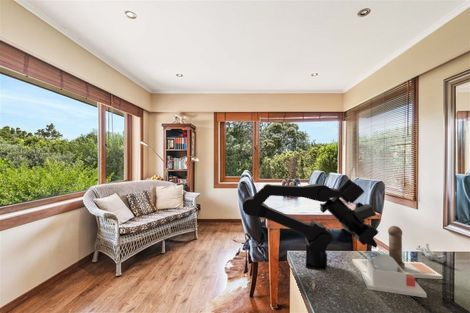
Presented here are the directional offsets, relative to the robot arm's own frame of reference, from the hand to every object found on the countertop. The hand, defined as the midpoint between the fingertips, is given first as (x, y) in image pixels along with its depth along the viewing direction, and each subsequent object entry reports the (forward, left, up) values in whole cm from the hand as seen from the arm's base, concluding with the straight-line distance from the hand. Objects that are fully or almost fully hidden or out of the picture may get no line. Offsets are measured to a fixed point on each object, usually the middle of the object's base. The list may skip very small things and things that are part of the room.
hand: (376, 246), depth 82 cm
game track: (+5, +1, -8) cm, 9 cm away
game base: (+1, -11, -8) cm, 13 cm away
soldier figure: (+21, +15, -8) cm, 27 cm away
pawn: (+6, +1, -6) cm, 9 cm away
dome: (0, -11, -5) cm, 12 cm away
